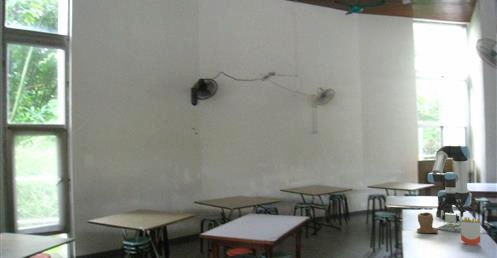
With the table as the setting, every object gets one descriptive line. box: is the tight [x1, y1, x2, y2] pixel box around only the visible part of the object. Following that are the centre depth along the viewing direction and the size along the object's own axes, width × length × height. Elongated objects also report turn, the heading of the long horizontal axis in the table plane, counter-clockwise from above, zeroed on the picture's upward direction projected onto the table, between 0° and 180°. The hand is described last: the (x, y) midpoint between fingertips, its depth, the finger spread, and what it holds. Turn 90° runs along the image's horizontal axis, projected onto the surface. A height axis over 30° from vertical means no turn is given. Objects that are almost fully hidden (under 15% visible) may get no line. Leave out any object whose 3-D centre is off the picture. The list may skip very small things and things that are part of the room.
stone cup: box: [416, 211, 439, 234], centre depth 309 cm, size 15×12×15 cm
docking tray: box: [437, 222, 461, 234], centre depth 320 cm, size 17×16×2 cm
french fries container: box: [460, 216, 481, 246], centre depth 277 cm, size 5×11×18 cm, turn 70°
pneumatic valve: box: [441, 212, 460, 228], centre depth 320 cm, size 6×12×12 cm, turn 60°
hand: (451, 220), depth 320 cm, fingers open, 13 cm apart
